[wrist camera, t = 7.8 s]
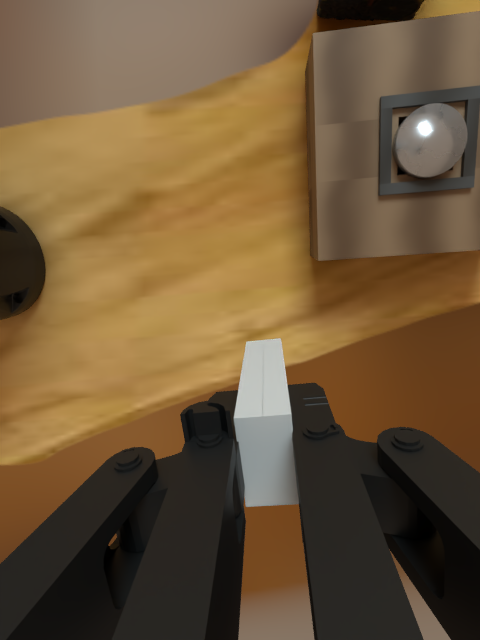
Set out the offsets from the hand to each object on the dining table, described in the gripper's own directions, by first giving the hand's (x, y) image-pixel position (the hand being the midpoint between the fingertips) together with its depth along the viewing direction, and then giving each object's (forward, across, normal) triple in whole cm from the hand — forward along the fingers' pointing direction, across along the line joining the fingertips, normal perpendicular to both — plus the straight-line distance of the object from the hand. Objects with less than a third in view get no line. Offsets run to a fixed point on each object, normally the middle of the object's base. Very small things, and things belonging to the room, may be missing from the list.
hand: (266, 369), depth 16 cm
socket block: (+30, +16, +12) cm, 36 cm away
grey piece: (+30, +16, +12) cm, 36 cm away
